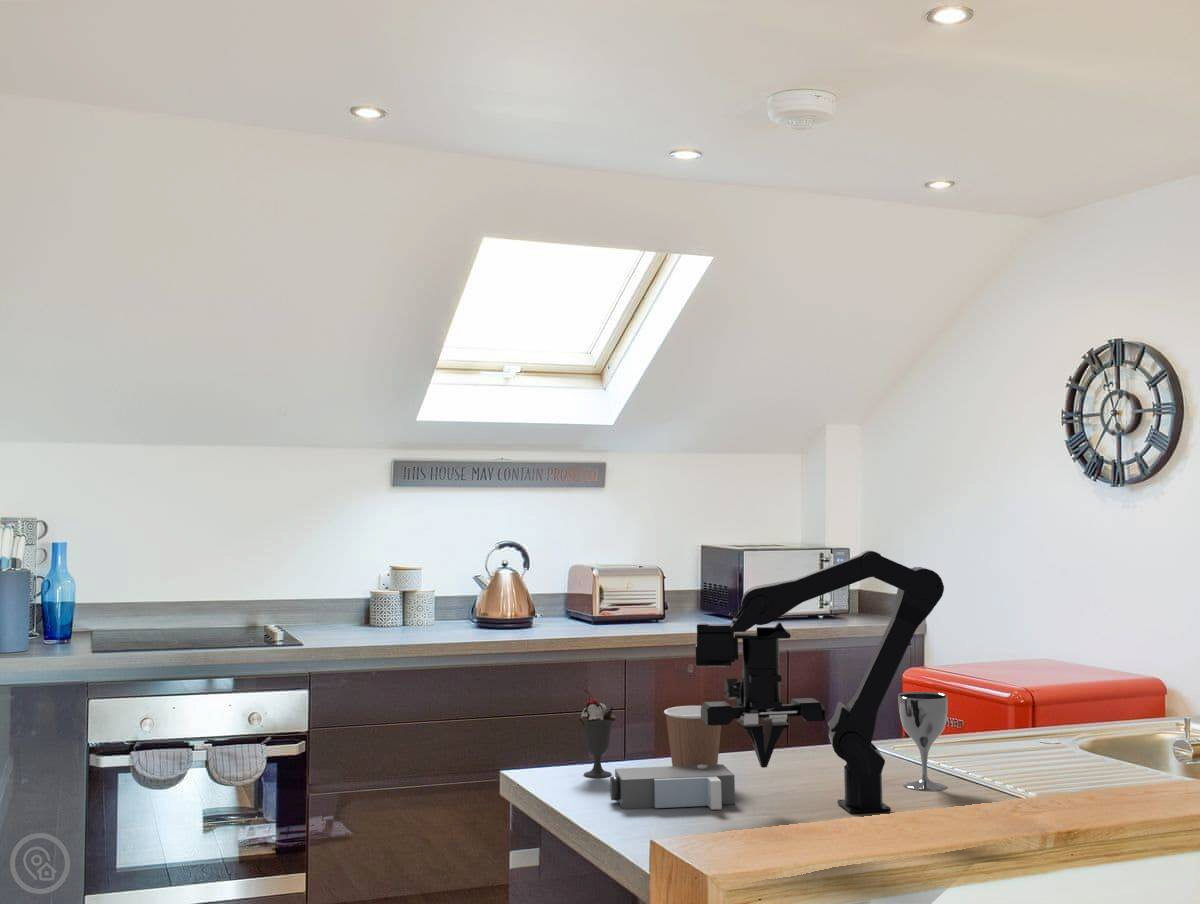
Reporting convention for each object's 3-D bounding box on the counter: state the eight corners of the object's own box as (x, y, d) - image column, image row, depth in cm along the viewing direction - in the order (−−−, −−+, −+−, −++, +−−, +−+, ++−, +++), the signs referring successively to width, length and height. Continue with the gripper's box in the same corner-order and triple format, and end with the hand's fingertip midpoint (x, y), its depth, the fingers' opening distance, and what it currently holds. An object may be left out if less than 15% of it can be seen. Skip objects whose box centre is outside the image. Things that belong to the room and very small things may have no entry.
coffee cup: (735, 778, 201) (734, 708, 201) (707, 790, 192) (706, 717, 193) (683, 771, 206) (682, 703, 207) (654, 783, 198) (652, 712, 198)
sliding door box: (735, 803, 183) (734, 771, 184) (614, 809, 181) (614, 777, 181) (723, 791, 191) (722, 761, 192) (608, 796, 189) (607, 765, 189)
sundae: (573, 772, 207) (572, 688, 207) (608, 769, 209) (607, 685, 210) (585, 780, 200) (584, 693, 201) (621, 777, 203) (620, 690, 204)
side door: (721, 809, 179) (721, 780, 180) (657, 812, 178) (657, 783, 178) (716, 804, 183) (716, 776, 183) (654, 806, 181) (654, 779, 182)
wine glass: (940, 779, 198) (938, 691, 198) (956, 791, 190) (954, 698, 190) (894, 780, 197) (892, 692, 198) (908, 792, 189) (906, 699, 190)
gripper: (803, 658, 192) (805, 754, 191) (692, 662, 189) (694, 759, 189) (824, 667, 181) (827, 768, 180) (707, 671, 178) (709, 774, 178)
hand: (763, 767), depth 182 cm, fingers closed
